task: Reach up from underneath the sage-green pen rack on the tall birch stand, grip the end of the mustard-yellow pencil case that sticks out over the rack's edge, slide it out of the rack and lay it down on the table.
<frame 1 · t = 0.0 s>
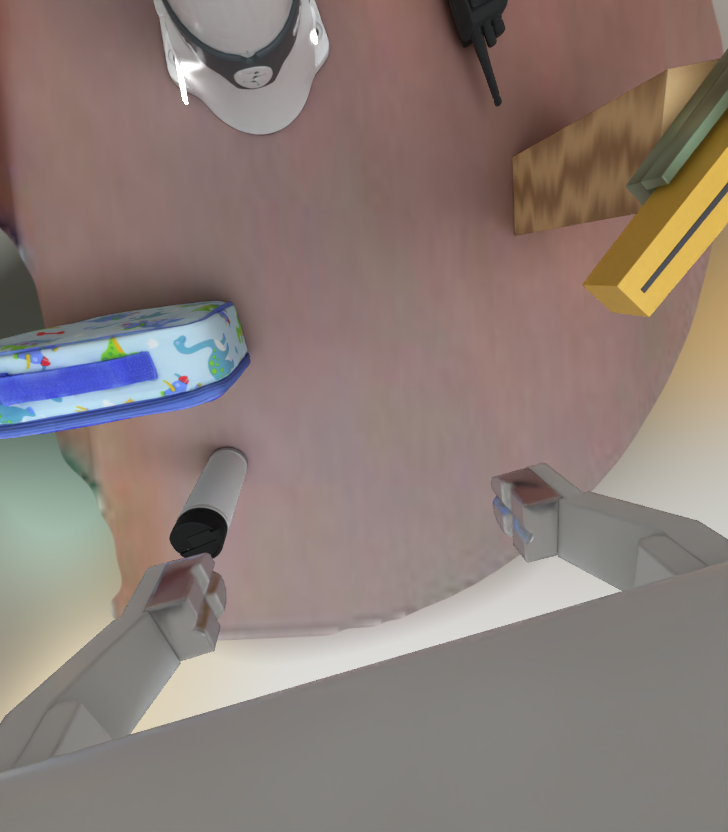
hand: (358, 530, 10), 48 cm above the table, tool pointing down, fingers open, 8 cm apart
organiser: (545, 190, 52), on the table
travel mug: (230, 462, 61), on the table
pencil case: (687, 184, 30), point 25 cm above the table, touching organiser
lunch box: (160, 345, 52), on the table
walkie-talkie: (467, 22, 44), on the table
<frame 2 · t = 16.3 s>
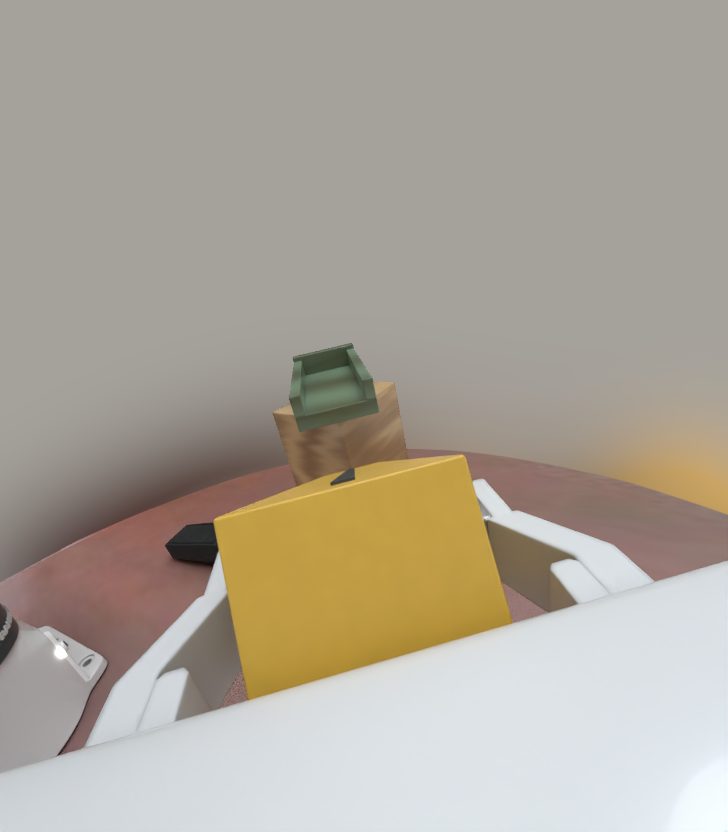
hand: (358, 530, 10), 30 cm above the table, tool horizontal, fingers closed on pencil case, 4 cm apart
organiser: (373, 554, 49), on the table
pencil case: (370, 556, 17), point 24 cm above the table, tilted 30°, touching gripper
walkie-talkie: (231, 558, 55), on the table
when the fingers open (11 cm above the table, at t = 20.7 s): pencil case drops 5 cm, on the table.
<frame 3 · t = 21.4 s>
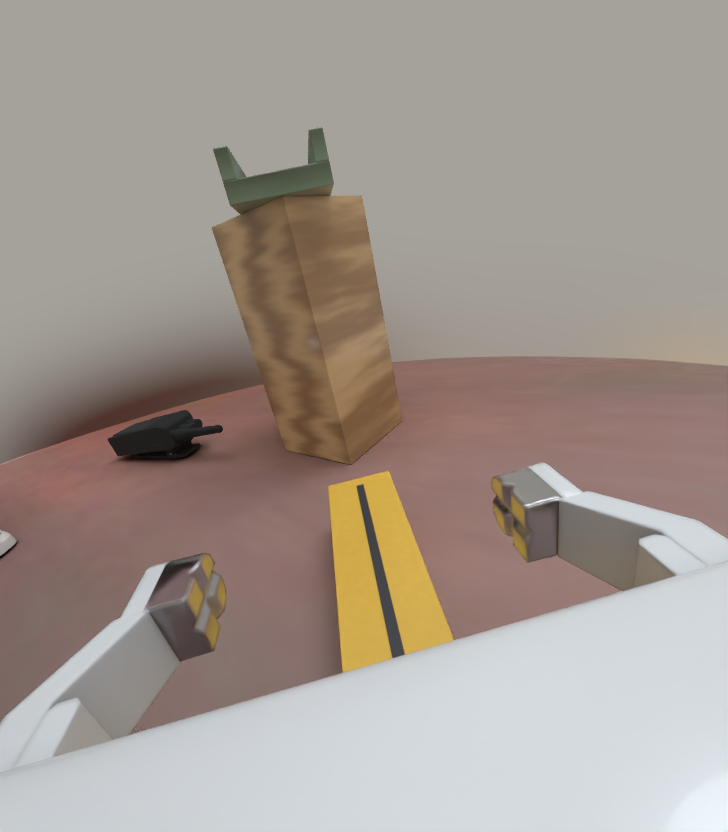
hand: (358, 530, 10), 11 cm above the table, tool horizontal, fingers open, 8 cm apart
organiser: (344, 435, 42), on the table
pencil case: (403, 667, 17), on the table
walkie-talkie: (184, 453, 48), on the table
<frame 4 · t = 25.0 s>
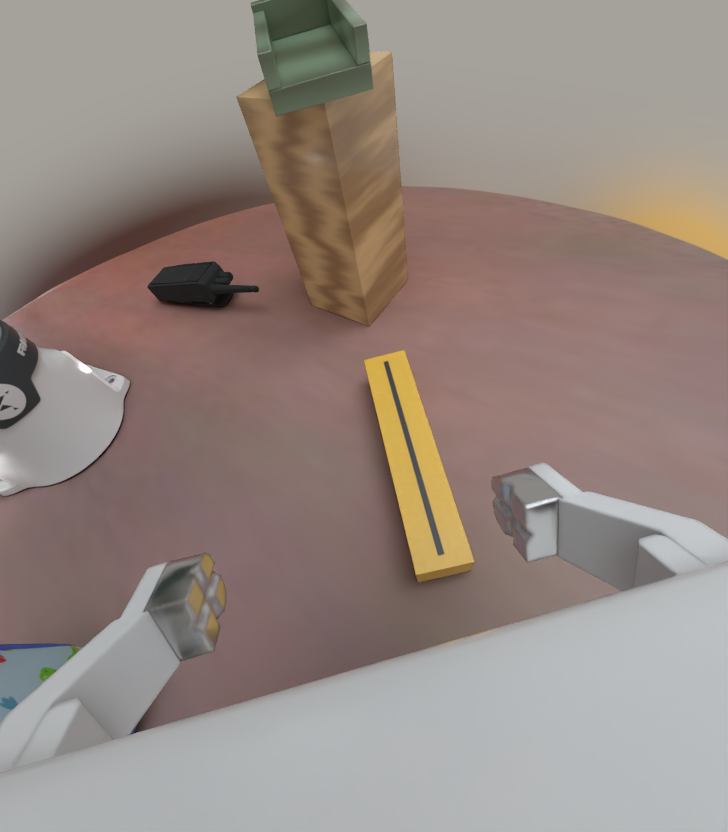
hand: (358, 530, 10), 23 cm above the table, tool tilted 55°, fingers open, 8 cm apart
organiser: (359, 292, 51), on the table
pencil case: (411, 460, 36), on the table
walkie-talkie: (219, 300, 56), on the table
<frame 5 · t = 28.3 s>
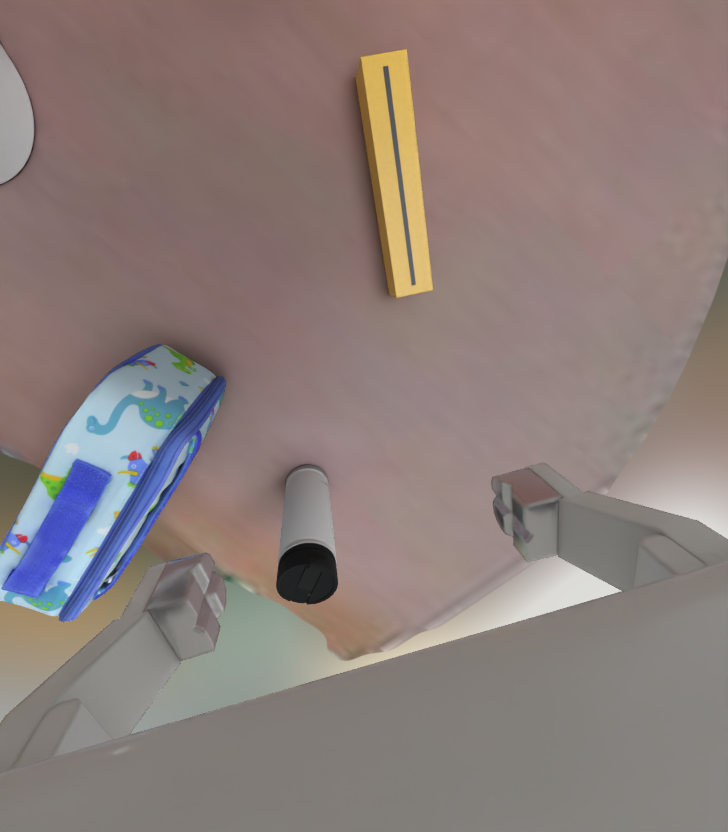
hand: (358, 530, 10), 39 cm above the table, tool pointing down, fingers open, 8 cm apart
travel mug: (307, 480, 54), on the table
pencil case: (392, 194, 42), on the table
lunch box: (159, 434, 48), on the table
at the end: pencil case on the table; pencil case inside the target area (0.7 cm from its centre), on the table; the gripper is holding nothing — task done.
